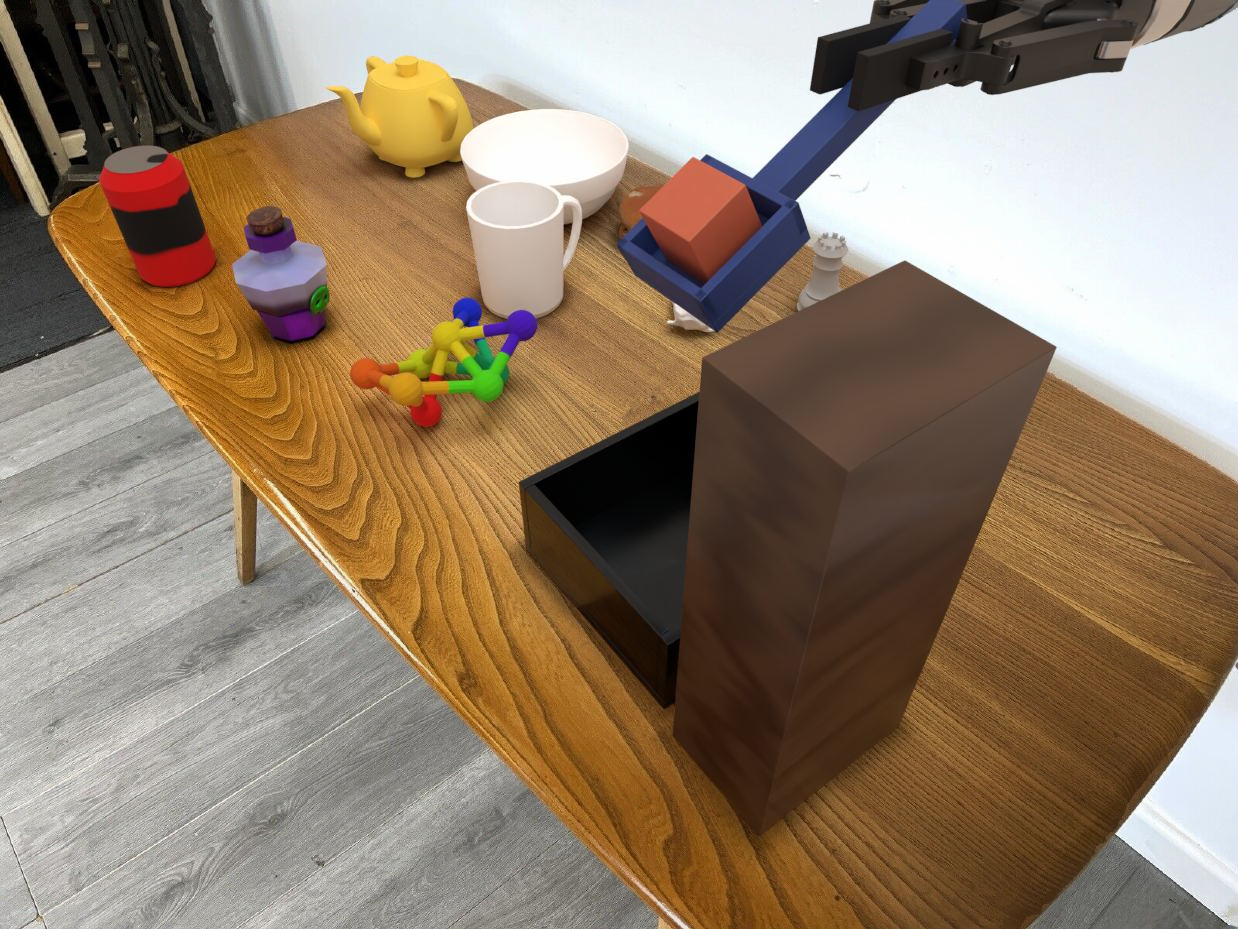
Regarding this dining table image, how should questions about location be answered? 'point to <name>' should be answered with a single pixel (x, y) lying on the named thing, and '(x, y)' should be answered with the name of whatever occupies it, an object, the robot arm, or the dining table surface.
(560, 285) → the mug
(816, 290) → the rook chess piece
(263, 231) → the potion bottle
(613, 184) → the bowl
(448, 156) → the teapot
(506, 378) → the decorative model
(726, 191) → the block
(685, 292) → the blue long-handled scoop
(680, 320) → the white cloth bag
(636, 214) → the burger
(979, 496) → the stand
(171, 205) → the soda can
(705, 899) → the dining table surface
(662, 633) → the black square open box
